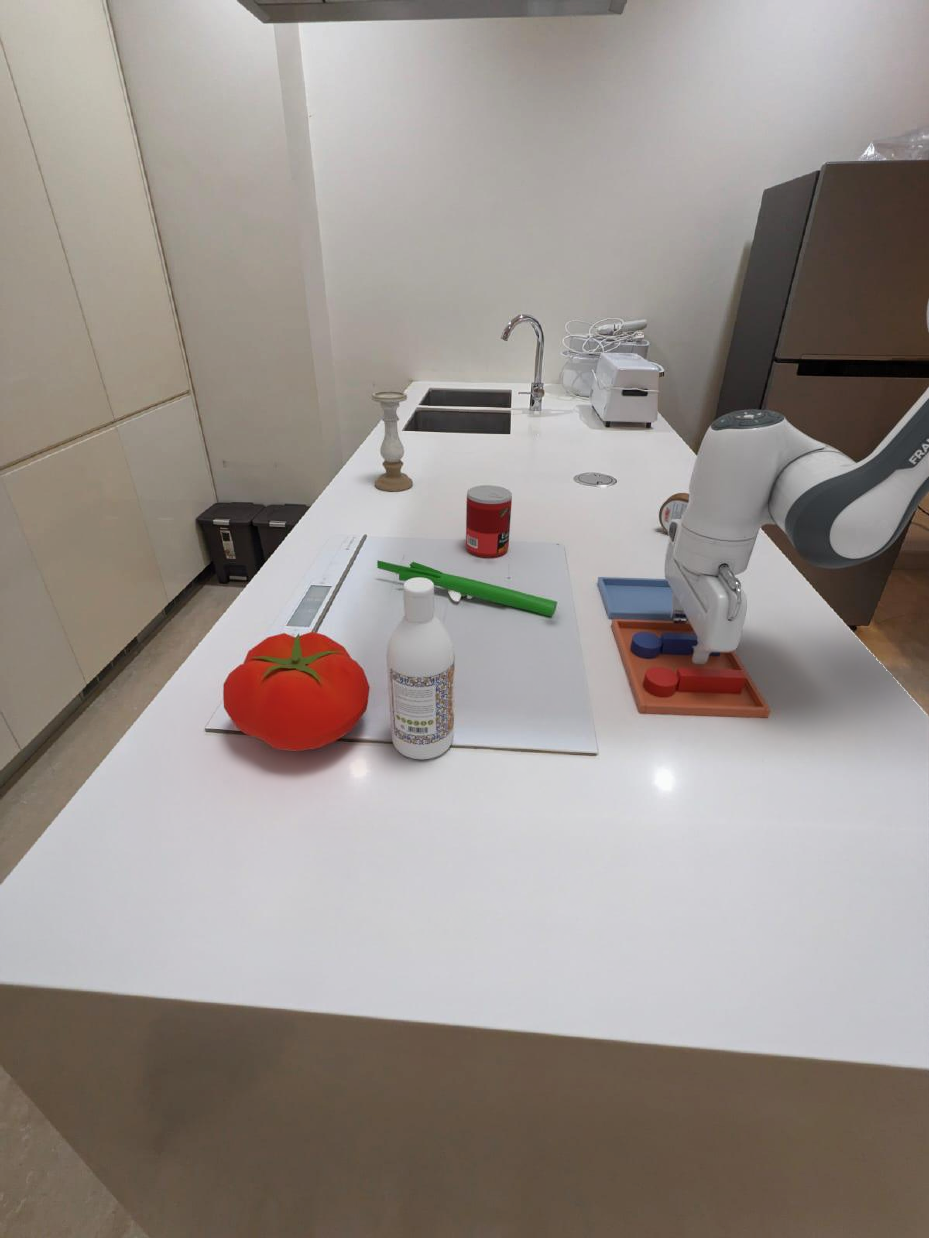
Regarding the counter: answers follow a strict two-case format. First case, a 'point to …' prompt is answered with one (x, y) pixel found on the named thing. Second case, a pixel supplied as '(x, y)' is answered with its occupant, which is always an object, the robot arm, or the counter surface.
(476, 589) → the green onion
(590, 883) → the counter surface
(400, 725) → the bath foam
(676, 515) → the tin
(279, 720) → the tomato
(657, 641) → the blue spoon
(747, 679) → the terracotta tray
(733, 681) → the red spoon
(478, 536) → the canned food
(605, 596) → the slate tray
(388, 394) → the candle holder
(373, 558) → the counter surface
